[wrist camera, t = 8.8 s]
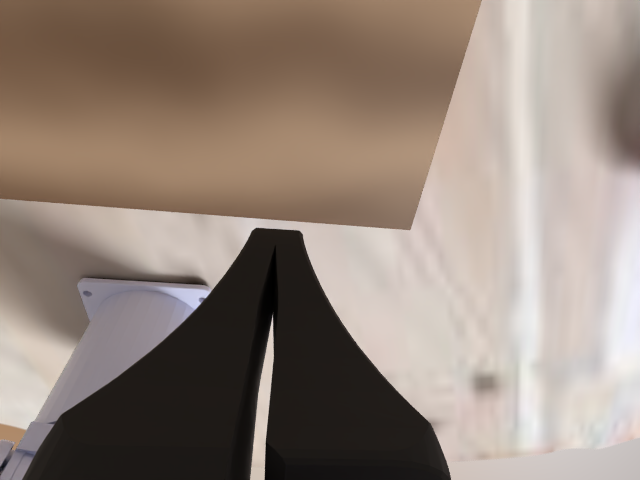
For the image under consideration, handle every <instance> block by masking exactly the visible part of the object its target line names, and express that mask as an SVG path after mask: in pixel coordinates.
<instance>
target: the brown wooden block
mask: <svg viewBox="0 0 640 480" xmlns="http://www.w3.org/2000/svg"><path fill="white" fill-rule="evenodd" d="M481 1H482V0H0V199H12V200H25V201H38V202H51V203H64V204H77V205H90V206H104V207H117V208H130V209H143V210H156V211H169V212H182V213H195V214H208V215H221V216H234V217H247V218H260V219H273V220H286V221H299V222H312V223H325V224H338V225H351V226H364V227H377V228H390V229H403V230H410V229H411V226H412V223H413V220H414V217H415V213H416V210H417V207H418V204H419V201H420V197H421V194H422V191H423V188H424V184H425V181H426V178H427V175H428V172H429V168H430V165H431V162H432V159H433V155H434V152H435V149H436V146H437V143H438V139H439V136H440V133H441V130H442V126H443V123H444V120H445V117H446V114H447V110H448V107H449V104H450V101H451V98H452V94H453V91H454V88H455V85H456V81H457V78H458V75H459V72H460V69H461V65H462V62H463V59H464V56H465V52H466V49H467V46H468V43H469V40H470V36H471V33H472V30H473V27H474V23H475V20H476V17H477V14H478V11H479V7H480V4H481Z"/></svg>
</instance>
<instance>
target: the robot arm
mask: <svg viewBox="0 0 640 480" xmlns="http://www.w3.org/2000/svg"><path fill="white" fill-rule="evenodd" d="M77 288H78V290H79V293H80V296H81V299H82V301H83V304H84V307H85V310H86V312H87V315H88V318H89V321H90V323H89V325H88V327H87V329H86V331H85V332H84V334H83V336H82V338H81V339H80V341H79V343H78V345H77V347H76V348H75V350H74V352H73V354H72V355H71V357H70V359H69V361H68V363H67V364H66V366H65V368H64V370H63V371H62V373H61V375H60V377H59V379H58V380H57V382H56V384H55V386H54V387H53V389H52V391H51V393H50V394H49V396H48V398H47V400H46V402H45V403H44V405H43V407H42V409H41V410H40V412H39V414H38V416H37V418H36V419H35V421H33V422H31V423H30V425H29V427H28V429H27V430H26V432H25V434H24V436H23V438H22V439H21V441H20V443H19V445H18V446H17V448H16V450H12V448H13V445H14V444H15V442H12V441H8V440H1V441H0V480H250V474H251V463H252V453H253V442H254V431H255V421H256V410H257V400H258V392H259V385H260V379H261V374H262V368H263V363H264V358H265V353H266V347H267V342H268V337H269V331H270V326H271V321H272V315H273V337H274V362H273V373H272V384H271V394H270V405H269V415H268V425H267V435H266V454H265V480H451V477H450V472H449V468H448V465H447V462H446V459H445V457H444V454H443V451H442V449H441V446H440V444H439V441H438V439H437V437H436V434H435V432H434V430H433V428H432V426H431V424H430V423H429V422H428V421H427V420H426V419H425V418H424V417H423V416H422V415H421V414H420V413H419V412H418V411H417V410H416V409H415V408H413V407H412V406H411V405H410V404H409V403H408V402H407V401H406V400H405V399H404V398H403V397H402V396H401V395H400V394H399V393H398V391H397V390H396V389H395V388H394V387H393V386H392V385H391V384H390V383H389V382H388V381H387V380H386V378H385V377H384V376H383V375H382V374H381V373H380V372H379V371H378V369H377V368H376V367H375V366H374V364H373V363H372V362H371V361H370V360H369V358H368V357H367V356H366V355H365V354H364V352H363V351H362V350H361V349H360V347H359V346H358V345H357V343H356V342H355V341H354V339H353V338H352V336H351V335H350V334H349V332H348V331H347V329H346V328H345V326H344V325H343V323H342V322H341V320H340V319H339V317H338V316H337V314H336V312H335V311H334V309H333V307H332V306H331V304H330V302H329V300H328V298H327V297H326V295H325V293H324V291H323V289H322V287H321V285H320V283H319V281H318V278H317V276H316V274H315V272H314V270H313V267H312V265H311V262H310V260H309V257H308V254H307V251H306V248H305V244H304V240H303V234H302V233H301V232H300V231H297V230H281V229H265V228H255V229H254V230H253V231H252V232H251V234H250V237H249V238H248V240H247V242H246V244H245V246H244V247H243V249H242V250H241V252H240V254H239V255H238V257H237V258H236V260H235V261H234V263H233V264H232V265H231V267H230V268H229V270H228V271H227V272H226V274H225V275H224V276H223V278H222V279H221V280H220V281H219V283H218V284H217V285H216V286H215V288H214V289H213V290H212V291H211V289H210V288H209V287H207V286H205V285H192V284H176V283H160V282H143V281H127V280H111V279H94V278H82V279H80V281H79V282H78V284H77ZM201 297H203V298H205V299H203V298H201Z"/></svg>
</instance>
